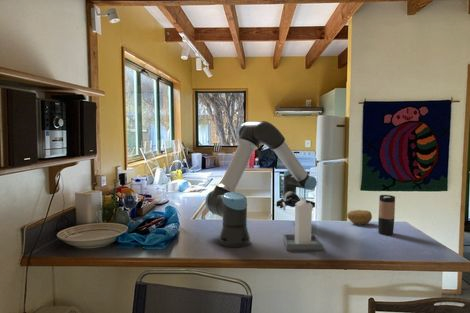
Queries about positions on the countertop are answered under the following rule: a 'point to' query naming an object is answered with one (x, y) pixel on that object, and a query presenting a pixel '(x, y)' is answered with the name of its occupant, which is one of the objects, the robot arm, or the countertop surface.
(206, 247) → the countertop surface
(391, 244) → the countertop surface
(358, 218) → the potato
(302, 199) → the milk
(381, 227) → the travel mug
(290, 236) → the tray
